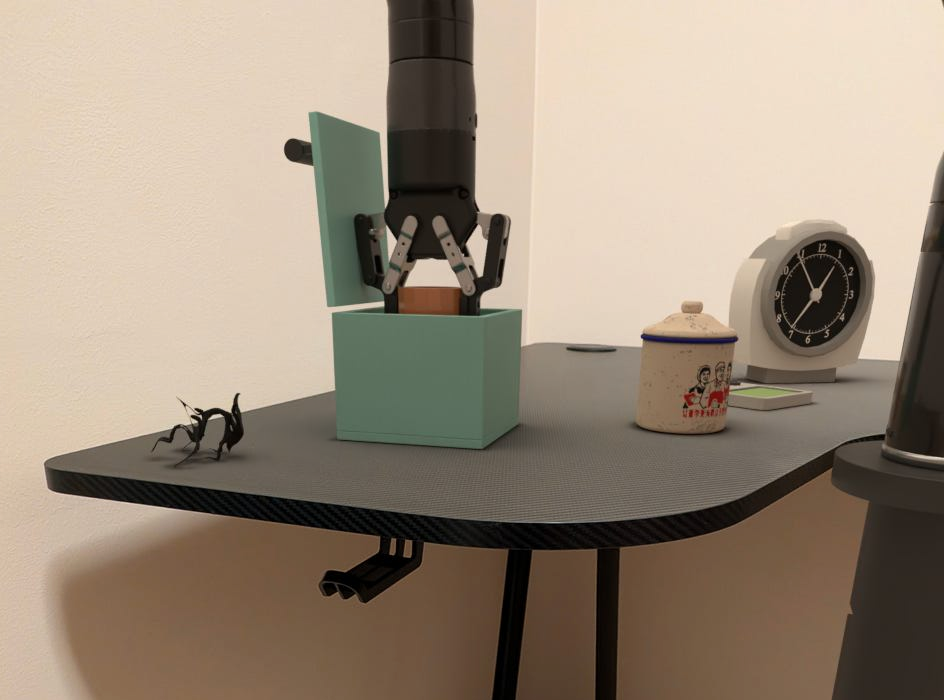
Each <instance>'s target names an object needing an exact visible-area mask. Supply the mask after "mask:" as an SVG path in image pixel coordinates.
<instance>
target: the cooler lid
mask: <svg viewBox="0 0 944 700" xmlns="http://www.w3.org/2000/svg"><path fill="white" fill-rule="evenodd" d="M308 122H309V133H310V141H306V140H302V139H298V138H294V137H292V138H288V139H287V140H286V141H285V143H284V145H283V153H284V156H285V158H286V159H287V160H288V161H289V162H291V163H297V164H301V165H305V166H311V167H313V175H314V184H315V195H316V206H317V207H316V208H317V215H318V225H319V236H320V249H321V258H322V265H323V266H322V267H323V277H324V287H325V298H326V307H327V308H334V307H337V308H338V307H347V306H354V305H363V304H364V305H365V304H372V303H373V304H374V303H380V302H382V303H384V295H383V293H382V292H381V291H380V290H379V289H376V288H374V287H372V286H367V285H366V284H365V283H364V281H363V276H362V270H361V263H360V257H359V250H358V244H357V237H356V231H355V224H354V218H355V216H356V215H357V214H369V215H371V214H377V213H382V212H384V211H385V208H386V201H385V191H384V190H385V187H384V176H383V175H384V172H383V159H382V146H381V133H380V132H379V131H376V130H374V129H371V128H368V127H365V126H362V125H360V124H356V123H353V122H351V121H347V120H344V119H341V118H338V117H335V116H332V115H329V114H327V113H323V112H321V111H317V110H313V111H309V112H308ZM387 229H388V227H387V225H386V226H385V228H384V235H383V237H382V238H381V239H380V246H381V253H382V260H383V267H384V274H385V275H386V273H387V271H388V268H389V261H390V258H389V243H388V233H387V232H388V231H387Z"/></svg>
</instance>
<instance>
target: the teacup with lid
mask: <svg viewBox="0 0 944 700" xmlns="http://www.w3.org/2000/svg"><path fill="white" fill-rule="evenodd" d="M680 310H681V312H675V313H672V314H670V315H668V316H666V317H665V318H664V319H662V320H661V321H659V322H657V323H653V324H651V325H648V326H646V327H644V328H643V329H642V330H641V331H642V333H641V334H640V339H642V346H641V355H640V357H641V359H640V370H639V381H638V393H637V403H636V404H637V406H636V417H635V423H636V425H637V426H639V427H640V428H642V429H645V430H649V431H654V432H659V433H668V434H683V435H698V434H699V435H700V434H701V435H703V434H712V433H716V432H720V431H721V430H723V429H724V428H725V427H726V420H727V413H728V406H729V405H728V398H729V389H730V381H731V380H732V371H733V364H734V361H733V357H734V348H735V342H737V341H738V337H737V332H736V330H735V329H733V328H730V327H729V326H727V325H725V324H723V323H721V322H720V321H719V320H718V319H717V318H715V316H713V315H711V314H709V313H704V312H703V310H704V304H703V302H702V301H700V300H698V301H697V300H685V301H683V302H682V303H681V305H680Z"/></svg>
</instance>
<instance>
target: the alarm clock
mask: <svg viewBox="0 0 944 700" xmlns="http://www.w3.org/2000/svg"><path fill="white" fill-rule="evenodd" d="M875 284H876V273H875V269H874V263H873V259H869V257H868V255H867V253H866V250H865V248H864V247H863V246H862V244H860V243H859V241H858V240H857V239H856V238H855V237H853V236H852V235H850V234H849V233H848V229H847V227H846V226H844V225H842V224H841V223H839V222H837V221H836V220H834V219H833V220H831V219H823V218H818V219H801V220H798V219H797V220H791V221H789V222H787V223H785V224H782V225H781V226H778V227H777V229H776V231H775V234H774V235H773V236H770V237H768V238H767V239H765V240H764V241H763V242H762V243H761V244H759V245H758V246H757V247H756V248H755V249H754V250H753V251H752V253H751V254H750V256H748V258H743V259H742V261H741V262H740V265H739V267H738V269H737V271H736V273H735V275H734V279H733V284H732V288H731V293H730V299H729V309H728V310H729V311H728V327H730V328H733V329H735V330H736V332H737V337H738V341H737V342H735V348H734V357H733V363H739V364H744V365H747V368H746V375H745V379H747V380H751V381H755V382H758V383H763V384H794V383H795V384H797V383H798V384H799V383H801V384H802V383H834V382H835V379H836V374H837V369H838V368H841V367H846V366H850V365H854V364H857V362H858V360H859V356H860V354H861V351H862V349H863V348H862V347H863V344H864V341H865V338H866V335H867V330H868V326H869V322H870V319H871V314H872V309H873V304H874V299H875V289H876V288H875V286H876V285H875Z"/></svg>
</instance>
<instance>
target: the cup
mask: <svg viewBox="0 0 944 700" xmlns="http://www.w3.org/2000/svg"><path fill="white" fill-rule="evenodd" d="M460 297H463V291H462V289H461V286H445V285H443V286H441V285H439V286H438V285H437V286H435V285H434V286H433V285H417V286H416V285H411V286H410V285H409V286H406V285H405V286H404V287H398V314H417V315H452V316H460Z"/></svg>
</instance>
